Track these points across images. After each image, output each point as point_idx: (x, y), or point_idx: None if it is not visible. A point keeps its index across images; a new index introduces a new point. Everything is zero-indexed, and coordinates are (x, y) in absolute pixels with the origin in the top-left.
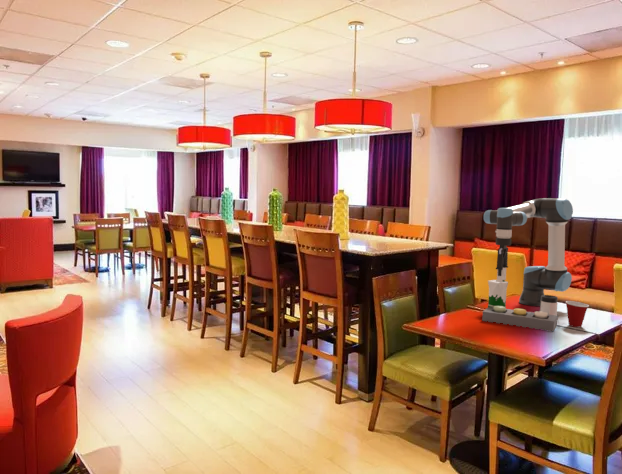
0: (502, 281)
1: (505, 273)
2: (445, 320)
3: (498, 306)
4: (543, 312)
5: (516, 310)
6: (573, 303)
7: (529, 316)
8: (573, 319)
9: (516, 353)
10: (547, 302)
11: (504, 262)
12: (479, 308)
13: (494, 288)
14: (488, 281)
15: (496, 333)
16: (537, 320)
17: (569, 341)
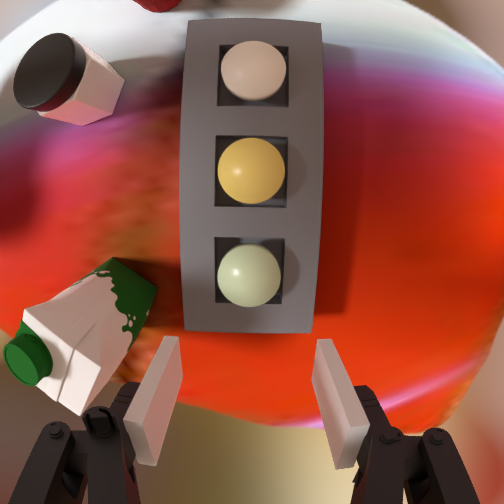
0: (318, 342)
1: (161, 379)
2: None
3: (237, 286)
4: (240, 58)
5: (281, 184)
6: None
7: (288, 119)
8: None
9: None
10: (83, 69)
11: (131, 501)
12: None
13: (115, 362)
14: (83, 411)
15: (449, 228)
16: (321, 84)
17: (402, 12)
